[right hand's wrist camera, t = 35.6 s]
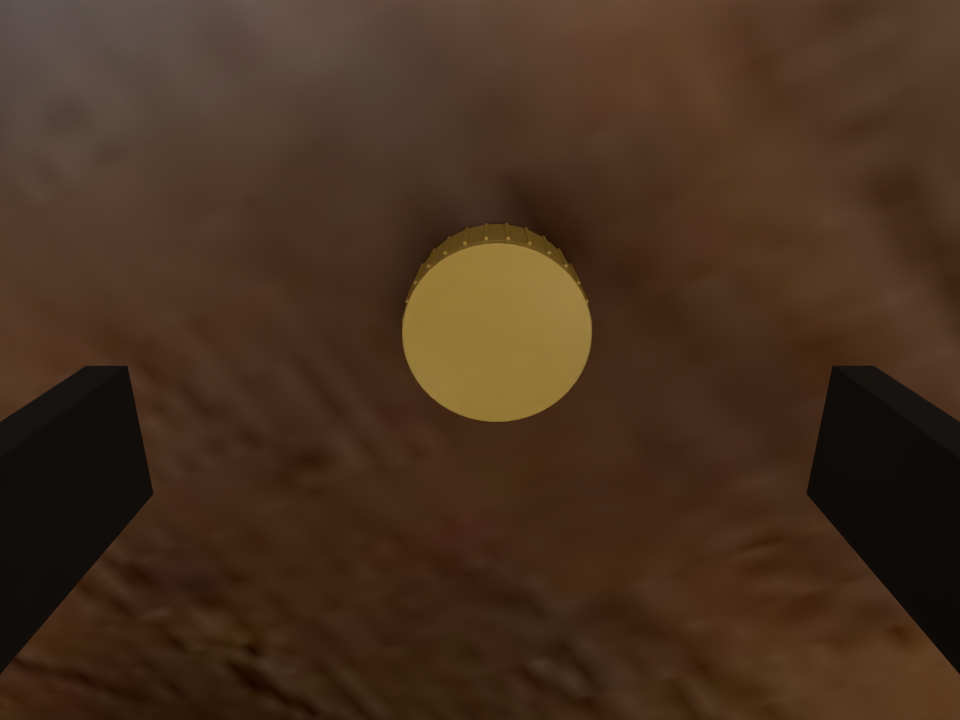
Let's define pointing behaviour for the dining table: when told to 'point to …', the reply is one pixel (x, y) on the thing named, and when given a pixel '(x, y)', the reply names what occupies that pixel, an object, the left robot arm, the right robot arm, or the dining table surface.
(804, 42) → the dining table surface
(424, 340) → the cap
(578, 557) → the dining table surface
